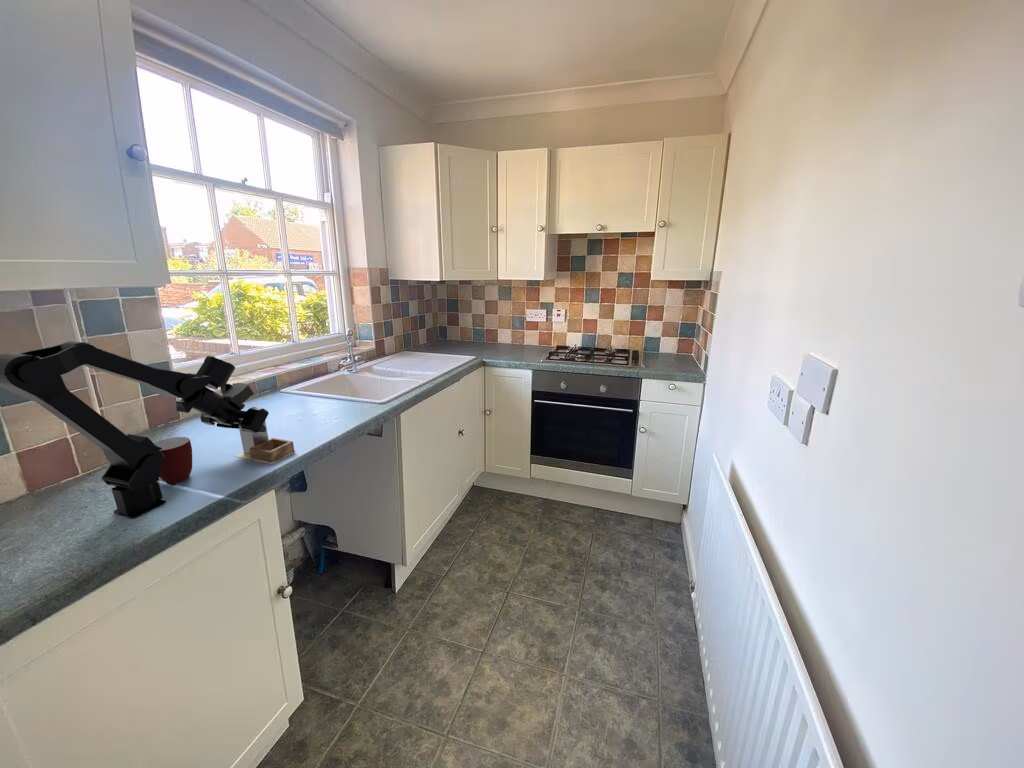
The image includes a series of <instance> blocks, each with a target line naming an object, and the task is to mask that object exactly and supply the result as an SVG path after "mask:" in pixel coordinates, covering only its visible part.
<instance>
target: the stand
mask: <svg viewBox="0 0 1024 768" xmlns="http://www.w3.org/2000/svg"><path fill="white" fill-rule="evenodd" d="M268 439H269V440H267V441H264V442H262V443H260V444H258V445H255V446H253V447H251V448H249V451H250V454H247V453H244V452H242V453H240V454H236V455H235V456H234V457H235V458H241V459H245V460H250V461H255V462H260V463H265V464H270V465H272V464H274V463H276V462H278V461H280V460H282V459H284V458H286V457H289V456H290V455H291V454H293V453H296V452H297V450H295V447H294V442H293V441H294V440H287V439H281V438H276V437H271V438H268Z"/></svg>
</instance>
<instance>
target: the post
mask: <svg viewBox="0 0 1024 768" xmlns="http://www.w3.org/2000/svg"><path fill="white" fill-rule="evenodd" d="M238 420H239V419H238ZM241 422H242V420H240V422H239V423H238V425H239V429H238V430H239V433H240V441H241V445H242V450H243V453H247V454H250V451H249V448H251V447H253V446H255V445H258V444H260V443H262V442H264V441H267V440H269V439H270V438H269V435H268V434H269V433H268V429H267V423H266V421H265V422H264V423H263V425H264V426H265V427H266V431H265V432H257V433H253V432H246V431H242V429H241V425H240V423H241Z"/></svg>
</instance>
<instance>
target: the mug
mask: <svg viewBox="0 0 1024 768" xmlns="http://www.w3.org/2000/svg"><path fill="white" fill-rule="evenodd" d="M153 443H154V444H155V445H156V446H158V447H161V448H162V449H161V450H159V451H161V452H162V454H163V455H164V459H163V464H162V466H161V471H160V477H159V479H161V480H162V481H163V482H164V483H165V484H167V485H169V486H177V485H178V484H179V483H182V482H184V481H186V480H187V479H189V478H190V475H191V473H192V471H193V470H192V469H193V448H192V443H191V439H190V438H189V437H185V436H175V437H169V438H165V439H159V440H158V441H155V442H153Z"/></svg>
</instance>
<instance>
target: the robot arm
mask: <svg viewBox="0 0 1024 768" xmlns="http://www.w3.org/2000/svg"><path fill="white" fill-rule="evenodd" d="M81 366H83V367H87V368H90V369H93V370H97V371H99V372H103V373H106V374H109V375H112V376H117V377H120V378H122V379H126V380H129V381H132V382H135V383H138V384H140V385H142V386H143V387H144V388H145V389H148V390H149V391H151V392H153V393H155V394H157V395H159V396H162V397H170V398H177V399H179V400H177V401H175V404H176V407H175V410H176V412H178V413H185V414H189V413H191V411H192V410H195V411H197V412H199V413H200V415H201V416H200V422H201V423H203V424H205V425H208V426H213V427H214V426H215V425H216V427H219V428H225V429H235V430H239V425H238V423H239V422H240V420H242V422H241V423H240V425H241V429H242V431H246V432H253V433H257V432H265V431H266V428H267V426H266V427H265V426H264V425H263V423H264V422H266V419H267V417H268V416H269V414H270V413H269V411H268V410H267V409H265V408H263V407H256V406H252V407H249V408H248V409H247V410H244V408H245V406H246V404H245V402H246V401H247V400H248V399H249V398H251V397H253V396H254V395H255V392H254V391H253V389H252V388H251V386H250V384H248V383H243V382H235V383H234V382H233V383H232V384H231V383H228V381H229V380H230V378H231V376H232V375H233V373H234V371H235V370H236V366H235V365H234V364H233V363H230V362H227V361H225V360H223V359H219V358H217V357H215V356H213V355H207V356H206V357H205V359H204V360H203V363H202V365H201V366H200V367H199V369H198V370H197V372H196V373H189V372H187V373H184V372H182V371H181V372H180V371H174V370H168V369H163V368H158V367H153V366H150V365H148V364H145V363H142V362H139V361H137V360H133V359H131V358H128V357H126V356H122V355H120V354H116V353H114V352H111V351H108V350H105V349H102V348H100V347H96V346H95V345H93V344H91V343H90V342H84V341H83V342H82V341H66V342H63V343H60V344H57V345H53V346H49V347H43V348H38V349H33V350H28V351H23V352H21V353H12V352H2V353H0V388H1V389H4V390H5V391H8V392H10V393H12V394H15V395H17V396H20V397H21V398H24V399H27V400H30V401H33V402H35V403H36V404H37V405H40V406H41V407H42V408H43V409H45V410H46V411H49V412H50V414H53V416H55V417H56V418H58V419H59V420H61V421H62V422H63V423H65V424H66V425H67V426H68V427H69V426H70V427H71V428H72V429H73V430H75V431H76V432H77V433H79V434H80V435H82V437H85V438H86V439H88V440H89V441H91V442H92V443H93V444H95V445H96V446H98V447H99V448H100V449H101V450H102V452H103V454H104V456H105V459H106V460H107V461H108V462H109V463H110V465H109V466H108V468H107V469H106V471H105V472H104V473H103V475H102V477H101V480H102V481H103V483H105V484H106V485H107V486H113V487H112V488H111V492H112V493H111V494H112V497H113V498H114V503H115V505H116V509H114V510H113V512H112V513H113V514H114V515H117V516H120V517H121V516H122V517H125V518H129V519H131V520H133V519H136V518H138V517H141V516H142V515H144V514H146V513H148V512H151V511H153V510H154V509H157V508H159V507H161V506H163V505H165V504H166V503H167V501H166V500H165V499H163V494H162V490H161V486H160V484H159V480H160V471H161V466H162V464H163V459H164V455H163V454H162V452H161V451H159V450H161V449H162V448H161V447H158V446H156V445H155V444H154V443H155V442H153V441H152V440H151V439H150V438H149V437H148V436H143V435H137V434H130V433H127V434H126V433H124V432H123V431H121V429H119V428H118V427H116V426H115V425H114V424H113V423H112V422H110V421H109V420H108V419H106V418H105V417H104V416H103V415H101V414H100V413H98V412H97V411H96V410H95V409H93V408H92V407H91V406H90V405H88V404H87V403H86V402H84V401H83V400H82V399H80V397H78V396H77V395H75V394H74V393H73V392H72V391H70V390H69V389H68V388H67V385H66V383H65V381H64V378H63V376H62V375H65V374H68V373H70V372H72V371H74V370H76V369H77V368H79V367H81ZM218 389H220V392H221V394H222V395H221V394H219V393H217V392H215V391H217V390H218ZM214 390H215V391H214ZM238 419H239V420H238Z"/></svg>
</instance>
